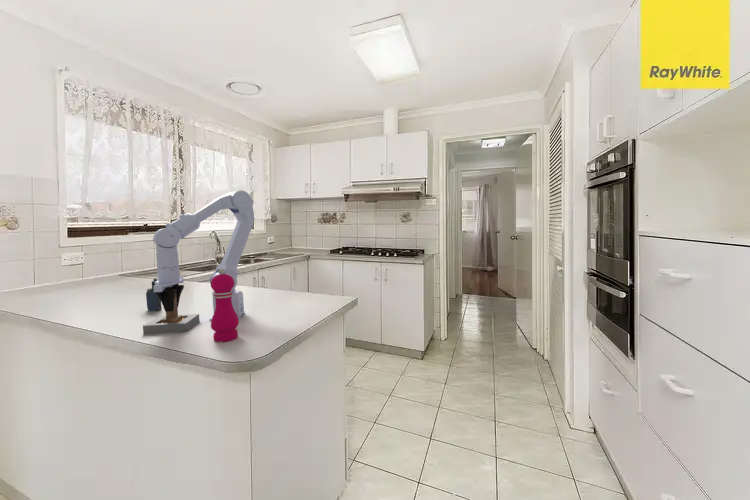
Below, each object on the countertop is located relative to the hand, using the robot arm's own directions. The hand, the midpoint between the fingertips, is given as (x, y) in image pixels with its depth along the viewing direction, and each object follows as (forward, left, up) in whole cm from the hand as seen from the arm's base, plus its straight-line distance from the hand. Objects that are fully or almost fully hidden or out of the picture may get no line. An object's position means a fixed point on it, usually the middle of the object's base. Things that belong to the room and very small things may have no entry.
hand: (171, 309), depth 102 cm
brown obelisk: (0, 0, -4) cm, 4 cm away
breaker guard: (0, 0, -6) cm, 6 cm away
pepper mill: (-20, +13, -6) cm, 25 cm away
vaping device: (+17, -23, -6) cm, 29 cm away
